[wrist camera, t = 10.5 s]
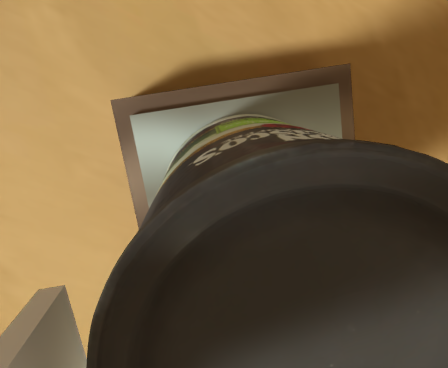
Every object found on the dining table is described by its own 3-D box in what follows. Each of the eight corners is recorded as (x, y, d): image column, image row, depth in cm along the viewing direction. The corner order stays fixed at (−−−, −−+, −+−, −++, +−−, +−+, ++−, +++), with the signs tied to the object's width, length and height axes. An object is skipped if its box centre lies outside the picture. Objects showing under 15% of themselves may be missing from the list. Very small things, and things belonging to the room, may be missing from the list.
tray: (126, 100, 24) (107, 100, 20) (324, 70, 25) (354, 62, 20) (164, 281, 28) (156, 320, 23) (338, 252, 28) (367, 283, 23)
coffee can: (165, 104, 20) (88, 113, 6) (342, 123, 21) (624, 167, 7) (154, 272, 22) (80, 555, 8) (314, 282, 23) (484, 552, 9)
